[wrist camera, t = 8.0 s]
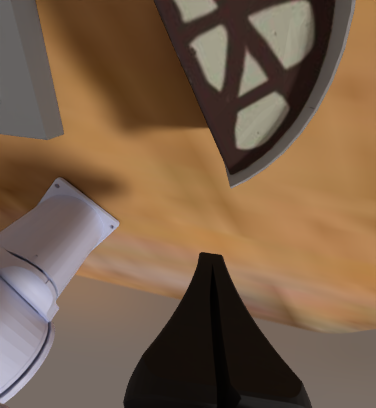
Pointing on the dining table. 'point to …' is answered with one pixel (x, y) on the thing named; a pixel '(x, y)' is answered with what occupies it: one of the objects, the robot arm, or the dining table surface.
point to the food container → (257, 69)
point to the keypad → (25, 75)
